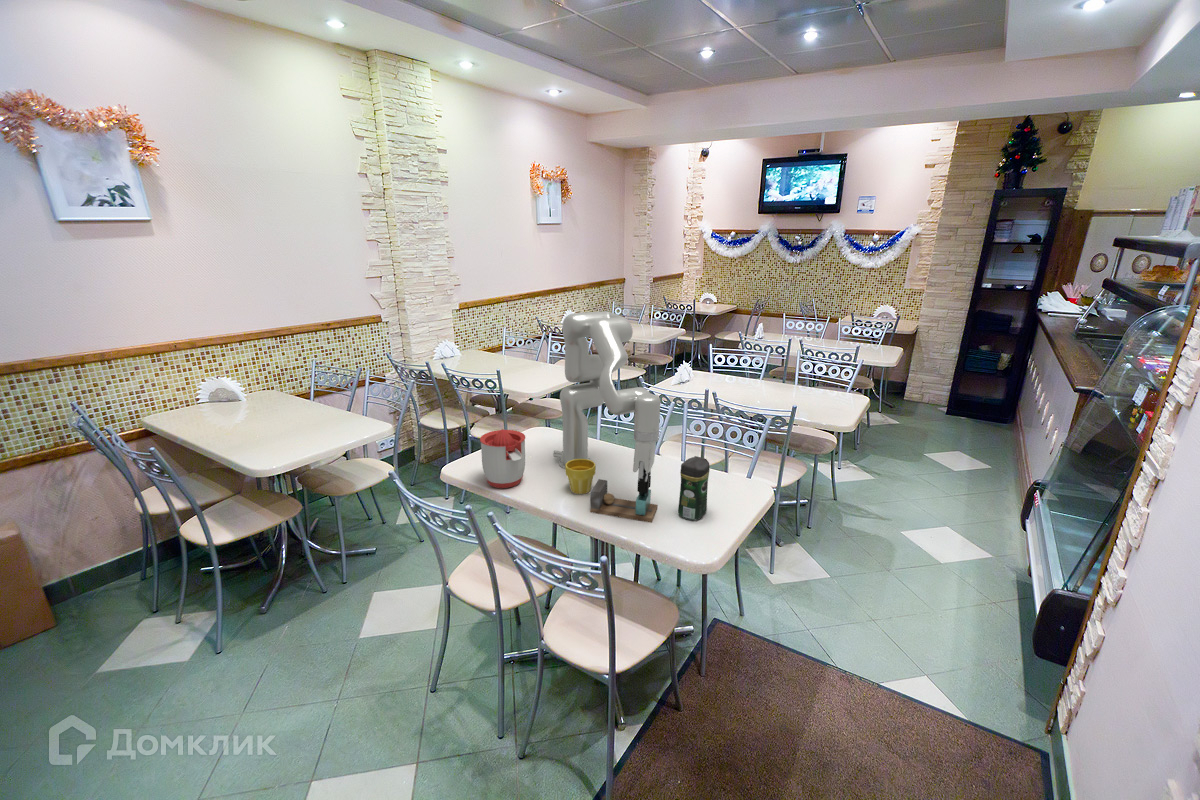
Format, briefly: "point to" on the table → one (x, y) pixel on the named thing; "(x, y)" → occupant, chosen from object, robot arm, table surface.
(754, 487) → the table surface
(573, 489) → the plant pot
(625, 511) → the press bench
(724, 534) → the table surface
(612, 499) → the walnut
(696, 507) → the coffee jar
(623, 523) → the table surface
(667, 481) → the table surface
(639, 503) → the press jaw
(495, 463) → the citrus juicer
